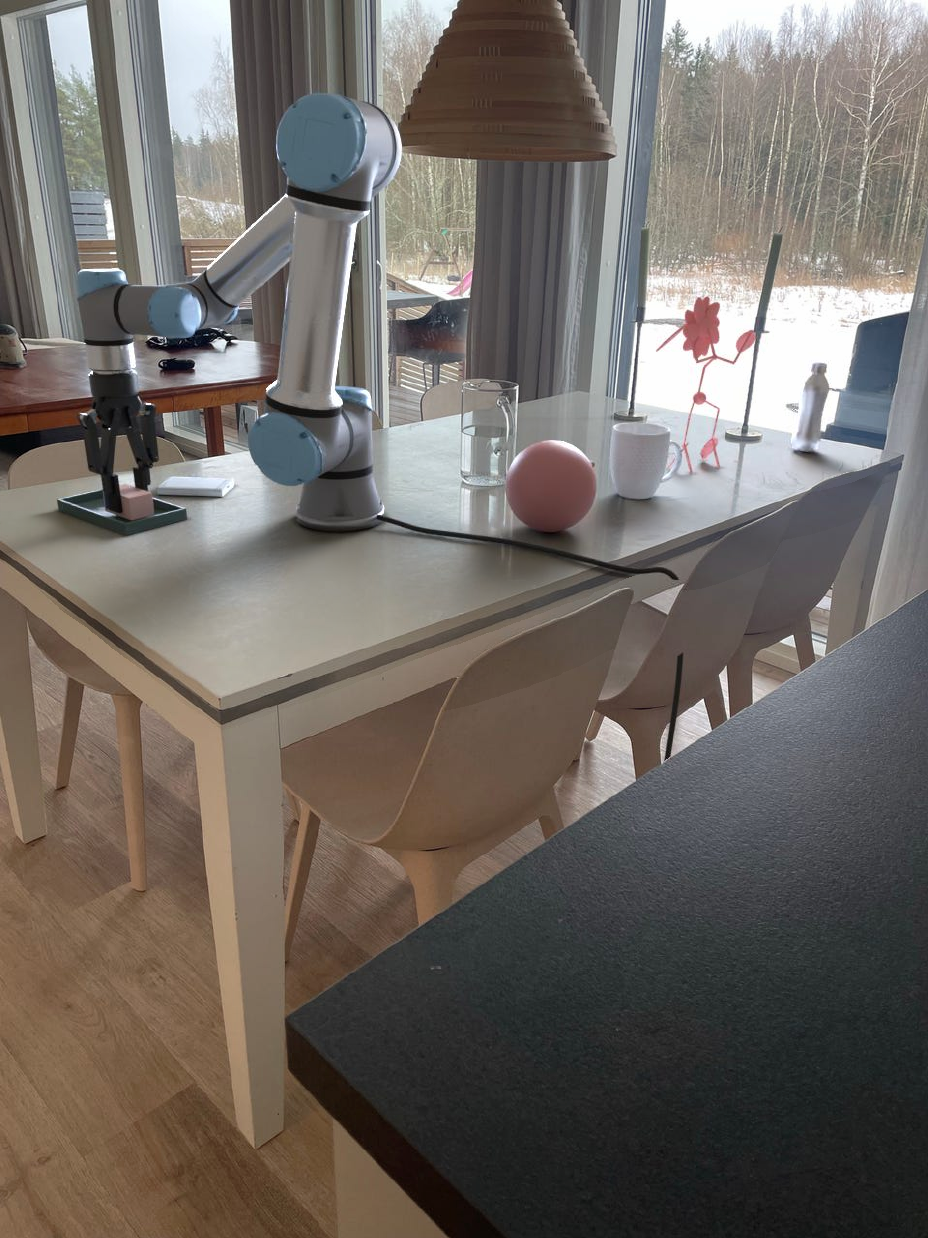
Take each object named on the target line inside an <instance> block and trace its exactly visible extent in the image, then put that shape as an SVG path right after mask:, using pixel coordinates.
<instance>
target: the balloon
mask: <svg viewBox="0 0 928 1238" xmlns="http://www.w3.org/2000/svg"><path fill="white" fill-rule="evenodd" d="M595 465H596V463H595V462H594V461H592V460H589V459H588V457H587V456H586V454H585V453H584V452H582V451H581V449H579V448H578V447H576V446H575V445H573V444H571V443H568V442H566V441H561V440H555V439H552V440H551V439H550V440H542V441H537V442H535V443H532V444H531V445H528V446H527V447H526V448H524V449H522V450H521V451H520V452H519V453H518V454H517V455H516V456H515V458H514V459H513V460H512V462H511V464H510V466H509V468H508V470H507V473H506V477H505V482H504V483H505V484H504V485H505V487H504V488H505V497H506V500H507V503H508V505H509V508H510V510H511V511H512V513H513V515H514V516H515V517H516V518H517V519H518V520H519V521H520V522H522V523H523V524H524V525H526V526H527V527H528V528H531V529H533V530H536V531H540V532H545V533H556V532H561V531H565V530H568V529H570V528H572V527H574V526H576V525H577V524H578V523H580V522H581V521H582V520H583V519H584V518H585V517H586V516H587V514H588V513H589V512H590V510H591V509H592V507H593V504H594V502H595V499H596V495H597V494H596V493H597V487H598V486H597V476H596V472H595V469H594V467H595Z"/></svg>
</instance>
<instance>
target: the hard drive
mask: <svg viewBox="0 0 928 1238" xmlns="http://www.w3.org/2000/svg"><path fill="white" fill-rule="evenodd" d="M234 486H235V479H234V478H220V477H198V476H197V477H196V476H169V477H167V478H166V479H165V480H164V481H163V482H161V483H160V484H159V485H158V486H157V487H156V495H160V496H189V497H190V496H191V497H221V498H223V497H224V496H225V495H226V494H228V492H229V491H231V490H232V489H233V488H234Z"/></svg>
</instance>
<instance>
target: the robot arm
mask: <svg viewBox="0 0 928 1238" xmlns="http://www.w3.org/2000/svg"><path fill="white" fill-rule="evenodd" d="M275 148H276V149H275V150H276V155H277V159H278V162H279V164H280V165H281V168H282V169H283V172H284V174H285V175H286V177H287V179H286V189H285V194H284V195H283V196H282V197H281V198H280V199H279V200H278V201H276V203H275V204H273V205H272V207H270V208H269V209H268V210H267V211H266V212H265V213H264V214H263V215H261V217H260V218H258V219H257V220H256V221H255V222H254V223H253V224H252V225H250V227H249V228H248V229H247V230H246V231H245V232H243V233H242V235H240V236H239V237H238V238H237V239H236V240H235V241H233V242H232V244H230V246H228V247H227V248H226V250H224V251H223V252H222V253H221V254H220V255H219V256H218V257H217V258H216V259H215V260H214V261H213V262H211V264H209V265H208V266H207V267H206V269H204V270H203V271H202V272H201V273H200V274H199V275H198V276H196V278H195V279H193V280H192V281H188V282H178V283H172V284H171V283H169V284H161V285H146V284H145V285H142V284H141V285H139V284H131V283H128V280H127V276H126V273H125V271H123V270H121V269H112V268H88V269H82V270H80V271H78V272H77V273H76V277H75V280H76V295H77V297H76V301H77V304H78V310H79V316H80V320H81V321H80V322H81V327H82V334H83V344H84V348H85V350H84V351H85V357H86V365H87V369H89V370H90V372H89V373H88V381H89V390H90V393H91V394H90V395H91V396H92V404H91V408H90V410H88V411H86V412H84V413H82V412H79V413H78V414H77V416H76V419H77V420H78V422H79V424H80V426H81V429H82V435H83V442H84V448H85V457H86V462H87V470H88V472H91V473H94V474H96V475H100V478H101V479H100V480H101V486H102V487H101V488H102V489H103V491H104V493H106V494H108V500H109V508H110V510H111V511H114V512H117V513H122V512H123V511H122V503H121V495H120V487H119V485H120V481H119V475H118V474H116V473H114V468H115V455H116V446H117V445H116V443H117V436H118V435H119V430H120V429H121V428H122V429H123V431H124V433H125V435H126V439H127V441H128V443H129V446H130V449H131V450H130V451H131V452H132V455H133V459H134V461H135V463H136V465H137V466H132V474H133V482H134V487H136V488H139V489H142V490H145V491H148V492H149V486H151V484H152V483H151V482H152V480H151V473H150V470H151V469H152V468H153V467H154V463H158V462H159V461H160V456H159V447H158V437H157V428H156V420H155V419H156V414H157V406H156V405H155V404H153V403H148V402H142V400H141V398H140V397H139V393H140V384H139V377H138V372H137V371H136V370H134V369H135V368H136V367H137V366H138V365H137V358H136V351H135V350H136V349H135V345H134V335H136V336H137V335H138V336H150V337H159V338H162V337H163V338H166V339H169V340H170V339H171V340H173V339H186V338H190V337H193V336H194V335H195V332H196V331H198V330H205V329H216V328H220V327H223V326H225V325H227V324H229V323H231V322H232V321H234V319H235V318H236V316H237V315H238V311H239V308H240V305H241V304H242V303H244V302H245V301H246V300H247V299H248V298H250V297H251V295H253V294H254V293H255V292H256V291H258V289H260V288H261V287H262V286H264V284H265V283H267V281H269V280H270V279H271V278H272V277H273V276H274V275H276V274H277V273H278V272H280V270H281V269H283V267H284V266H286V265H287V264H288V263H289V268H288V280H287V287H286V296H285V297H286V298H285V305H284V306H285V307H284V315H283V316H284V317H283V324H282V335H281V341H280V343H281V344H280V353H279V363H278V370H277V379H276V380H275V381H274V382H273V383H272V384H270V385H268V387H267V388H266V390H265V397H264V405H263V406H264V407H263V414H261V415H260V416H259V417H258V418H257V419H255V421H254V422H253V423H252V425H251V426H250V429H249V432H248V436H247V442H248V443H247V445H248V450H249V455H250V457H251V459H252V461H253V463H254V464H255V465H254V466H257V467H258V469H259V471H260V472H261V474H263V476H265V477H266V478H267V479H268V480H270V481H272V482H273V483H276V484H278V485H282V486H286V487H297V486H300V485H302V489H301V494H300V499H299V501H298V503H297V505H296V509H295V511H296V521H297V523H298V524H300V526H303V527H305V528H308V529H312V530H315V531H321V532H323V531H324V532H353V531H361V530H366V529H369V528H373V527H376V526H377V525H380V524H381V523H382V522H384V523H388V524H392V525H394V526H398V527H400V528H403V529H407V530H410V531H412V532H417V533H422V534H427V535H433V536H441V537H450V538H456V539H464V540H472V541H480V542H488V543H495V544H501V545H506V546H507V545H508V546H512V547H518V548H522V549H527V550H531V551H537V552H542V553H546V554H549V555H550V554H551V555H554V556H557V557H562V558H566V559H570V560H573V561H578V562H581V563H586V564H590V565H594V566H597V567H600V568H601V567H602V568H605V569H608V570H613V571H617V572H621V573H622V572H623V573H627V574H633V575H646V574H647V575H648V574H655V573H657V574H658V573H660V574H664V575H666V576H668V577H669V578H670V579H671V580H673V581H679V580H680V578H679V576H678V575H676V573H675V572H674V571H672V570H671V569H669V568H667V567H664V566H649V567H631V566H625V565H621V564H616V563H612V562H608V561H604V560H601V559H596V558H592V557H588V556H584V555H581V554H576V553H572V552H568V551H565V550H561V549H557V548H553V547H548V546H544V545H540V544H535V543H530V542H524V541H520V540H515V539H509V538H504V537H503V538H502V537H496V536H490V535H481V534H473V533H465V532H458V531H450V530H442V529H434V528H428V527H423V526H418V525H415V524H411V523H408V522H406V521H402V520H398V519H395V518H394V517H388V516H386V515H385V506H384V504H383V503H384V502H382V500H381V497H380V494H379V489H378V486H377V484H376V480H375V478H374V469H373V467H374V463H373V462H374V461H373V455H374V453H373V413H374V409H373V407H372V397H371V394H370V392H369V390H367V389H365V388H362V387H357V386H347V385H345V386H344V385H336V378H337V370H338V364H339V358H340V357H339V356H340V348H341V341H342V336H343V335H342V333H343V327H344V318H345V311H346V305H347V298H348V289H349V282H350V275H351V268H352V261H353V252H354V244H355V238H356V230H357V224H358V223H359V222H360V221H361V220H362V219H364V218H365V217H366V216H367V215H369V213H370V210H371V209H370V207H371V203H372V202H371V201H372V199H373V198H375V196H376V195H378V194H379V193H380V192H381V191H383V190H384V188H386V187H387V186H388V185H389V184H390V182H392V180H393V179H394V178H395V176H396V174H397V172H398V170H399V167H400V164H401V160H402V153H403V152H402V151H403V145H402V139H401V134H400V131H399V129H398V127H397V125H396V123H395V121H394V120H393V119H392V117H391V116H390V114H389V113H387V112H386V111H385V110H384V109H383V108H381V107H380V106H378V105H376V104H373V103H371V102H369V101H362V100H357V99H355V98H352V97H348V96H345V95H341V94H339V93H336V92H335V93H331V92H313V93H309V94H306V95H303V96H302V97H300V98H298V99H297V100H296V101H294V103H292V104H290V106H289V107H288V108H287V109H286V110H285V112H284V114H283V116H282V118H281V120H280V122H279V125H278V127H277V131H276V139H275ZM138 415H139V416H140V418H139V419H140V423H139V421H138V418H137V417H138ZM97 419H98V420H99V421H100V424H99V425H100V426H99V431H100V433H101V435H100V438H99V432H98V427H97V425H96V424H97V423H98V420H97ZM139 424H140V425H139ZM140 427H141V428H140ZM140 429H141V432H140ZM683 666H684V652H681V653H680V654H679V655H677V657H676V667H675V668H676V669H675V670H676V671H675V680H674V690H673V698H672V705H671V712H670V718H669V719H670V720H669V727H668V732H667V740H666V746H665V753H664V760H663V762H664V761H665V760H666V759H668V758H669V757H670V758H671V755H672V749H673V742H674V737H675V730H676V725H677V724H676V723H677V717H678V710H679V704H680V696H681V695H680V694H681V686H682V677H683Z"/></svg>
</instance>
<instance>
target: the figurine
mask: <svg viewBox="0 0 928 1238" xmlns="http://www.w3.org/2000/svg"><path fill="white" fill-rule="evenodd" d="M710 300H711V298H710V297H709V295H707V296H705V297H703V299H702V298H701V296H697V298H696V299H695V301H694V305H693V310H691V309H686V310H685V312H684V322H685V323H684V324H683V325H682V326H681V327H679V328H678V329H677V330H675V332H673V333H672V334H671V335H670V336H669V337H668V338H667V339H665V340H664V341H663V343H661V345H660V346H659V347H658V348H657V349H656V350H655V352H656V353H658V352H659V351H661V349H663V348H664V347H665V346H666V345H668V344H669V343H670V342H671V341H672V340H674V338H676V337H677V336H678V335H679V334H680V333H681V332H682V334H683V336H684V338H685V340H684V341H683V344H682V345H683V346H682V350H683V351H684V352H689V351H692V358H693V359H694V360H695V363H696V364H699V363H703V362H706V361H708V362H706V363H704V365H703V366H702V369H701V370H702V371H701V375H700V378H699V379H700V380H699V385H698V390H697V392H696V393H694V394H693V396H692V405H691V408H690V412H689V414H688V418H687V422H686V423H687V424H686V427H685V428H686V429H685V434H684V438H683V439H684V440H683V445H682V446H681V448H682V449H681V451H682V452H683V451H684V454H685V458H686V462H687V467H688V469H689V473H690V474H693V468H692V464H691V459H690V456H689V452H688V448H687V446H688V445H689V444H690V442H687V443H686V441H687V436H688V431H689V426H690V422H691V416H692V413H693V410H694V406H695V405H699V406H700V405H701V406H702V404H703V405H704V403H706V404H708V405H710V406H711V407H713V408H715V409H716V410H717V412H716V418H715V422H714V425H713V426H714V427H713V431H712V434H711V435H712V436H711V439H709V440H708V441H707V442H706V443H705V444H704V445H703V446H702V448H701V449H700V453H699V455H700V457H701V460H705V459H706V458H708V457H709V455H711V454H712V453H713V454H714V459H715V462H716V466H717V468H720V467H721V463H720V461H719V457H718V452H717V446H718V444H719V439H718V438H717V437H715V433H716V429H717V425H718V419H719V416H720V412H721V408H720V407H718V406H716V405H715V404H712V402H709V401H707V395H706V393H705V392H703V391H701V388H702V384H703V380H704V377H705V372H706V369H707V367H708V366H709V365H710V364H711V363H712V362H714V361H716V360H720V361H721V362H722V361H723V362H725V363H728V364H731V365H736V363H737V360H738V359H739V357H740V355H742V353H743V352H745V351H747V350H748V349H750V348H751V347H752V346H753V344H754V343H755V342H756V338H757V337H756V332H754V330H753V329H750V330H749V331H745V332H743V333H742V334H741V335H740V336H739V337H738V338H737V339H736V341H735V349H736V351H737V354H736V355H735V358H734V360H733V361H732V360H730V359H727V358H725V357H721V356H718V355H717V354H716V350H715V346H714V345H717V344H718V343H719V342H720V331H719V327H720V324H721V323H720V319H719V317H718V315H719V311H720V309H721V303H720V302H718V301H714V302H712V303H710ZM709 349H711V352H712V355H711V356H708V357H706V356H707V355H708V353H709ZM701 356H703V357H704V358H700V357H701ZM699 358H700V359H699ZM671 455H676V452H675V453H673V452H672V453H671ZM675 458H676V456H675V457H674V458H673V459H672V460H671V462H670V463H669V465H668V466H667V468H670V467H671V466H672V465H673V464H674V463H675ZM734 462H735V463H737V464H740V462H739V461H736V460H734Z"/></svg>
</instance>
